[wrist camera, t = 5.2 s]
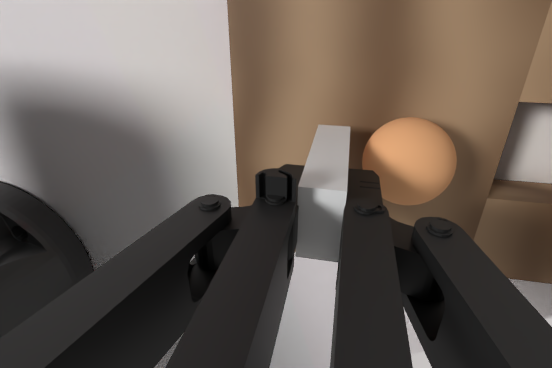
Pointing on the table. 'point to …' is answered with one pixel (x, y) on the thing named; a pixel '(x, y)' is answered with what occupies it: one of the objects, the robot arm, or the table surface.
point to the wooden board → (402, 100)
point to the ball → (411, 160)
